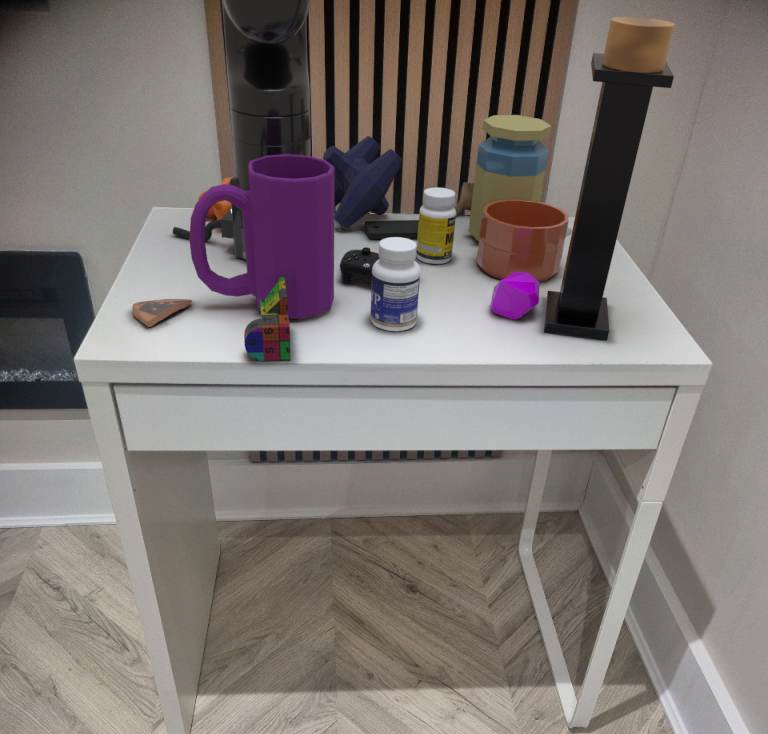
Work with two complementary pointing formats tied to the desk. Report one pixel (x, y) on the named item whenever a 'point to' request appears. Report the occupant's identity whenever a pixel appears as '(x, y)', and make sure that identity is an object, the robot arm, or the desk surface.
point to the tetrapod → (361, 180)
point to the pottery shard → (157, 309)
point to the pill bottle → (395, 285)
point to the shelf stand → (602, 200)
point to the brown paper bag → (465, 198)
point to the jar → (509, 163)
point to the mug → (278, 232)
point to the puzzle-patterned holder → (270, 328)
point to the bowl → (521, 238)
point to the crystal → (515, 295)
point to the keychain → (392, 228)
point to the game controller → (358, 264)
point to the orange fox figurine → (220, 204)
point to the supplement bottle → (436, 226)
